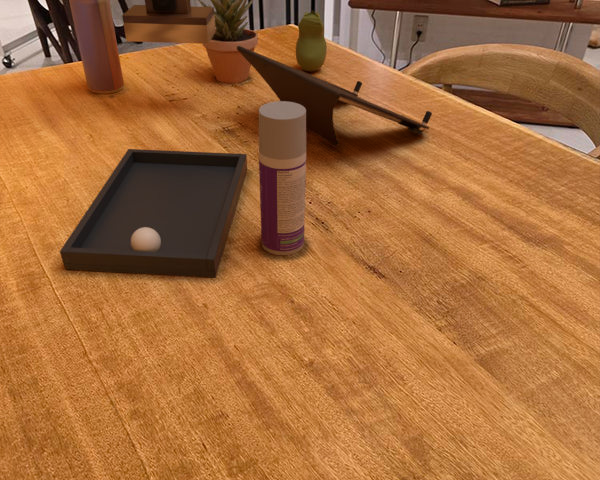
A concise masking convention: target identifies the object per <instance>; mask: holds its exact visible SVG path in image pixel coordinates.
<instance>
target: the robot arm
mask: <svg viewBox="0 0 600 480" xmlns="http://www.w3.org/2000/svg"><path fill="white" fill-rule="evenodd" d="M152 5H153V9H154V11H169V12H174V11H175V10H176V2H175V0H152Z"/></svg>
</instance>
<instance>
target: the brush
mask: <svg viewBox="0 0 600 480" xmlns="http://www.w3.org/2000/svg"><path fill="white" fill-rule="evenodd" d="M175 2H176V10H175V11H174V12H169V11H154V9H153V5H152V0H144V4H133V5H132V6H131V7H130V8H129V9H128V10H127V11H125V12H124V13H123V14H122V15H121V17H122V22H123V29H124V35H125V41H126V42H133V43H134V42H137V43H139V42H140V43H166V44H167V43H168V44H169V43H171V44H198V45H199V44H201V45H203V44H208V43H209V42H210V40H211V39H212V37H213V35H214V34H215V32H216V28H215V16H214V11H215V7H214V6H211V7H209V6H208V7H203V6H192V4H191V0H175Z"/></svg>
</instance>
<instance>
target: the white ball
mask: <svg viewBox="0 0 600 480" xmlns="http://www.w3.org/2000/svg"><path fill="white" fill-rule="evenodd" d="M131 246H132V248H133V250H134V251H148V252H158V250H159V248H160V246H161V239H160V236H159V234H158V233H157V232H156V231H155V230H154V229H152V228H148V227H143V228H140V229H138V230H136V231H135V232H134V233H133V235H132V237H131Z"/></svg>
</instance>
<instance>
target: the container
mask: <svg viewBox="0 0 600 480" xmlns="http://www.w3.org/2000/svg"><path fill="white" fill-rule="evenodd" d="M258 174H259V177H258V178H259V204H260V205H259V207H260V209H259V210H260V235H261V236H260V238H261V239H260V240H261V246H262V248H263V250H264V251H266V252H267V253H269V254H271V255H276V256H291V255H294V254H297V253H299V252H300V251H301V250H302V249H303V248H304V246H305V223H306V219H305V218H306V186H307V183H306V179H307V129H306V109H305V107H303V106H302V105H300V104H297V103H294V102H287V101H280V100H278V101H271V102H267V103H264V104H262V105H261V106H260V107H259V108H258Z"/></svg>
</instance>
